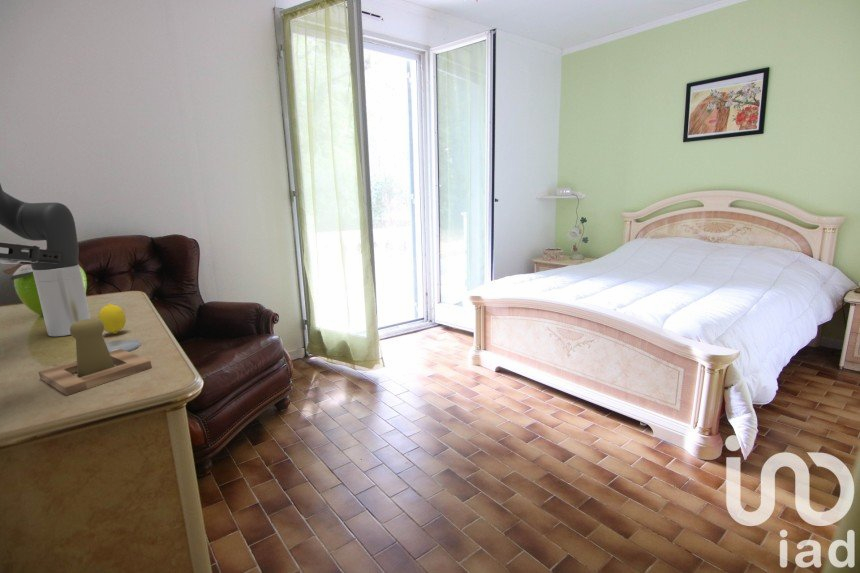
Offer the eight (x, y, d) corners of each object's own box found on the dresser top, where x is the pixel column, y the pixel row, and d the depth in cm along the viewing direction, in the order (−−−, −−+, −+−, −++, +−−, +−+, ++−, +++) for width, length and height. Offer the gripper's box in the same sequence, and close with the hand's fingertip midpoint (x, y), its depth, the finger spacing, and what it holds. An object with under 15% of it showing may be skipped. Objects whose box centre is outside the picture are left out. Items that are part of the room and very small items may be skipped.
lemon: (114, 338, 108) (108, 306, 106) (96, 337, 109) (89, 306, 107) (133, 330, 113) (127, 301, 112) (116, 330, 115) (109, 300, 113)
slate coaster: (80, 352, 99) (79, 349, 99) (129, 338, 107) (129, 336, 107) (98, 360, 93) (97, 357, 93) (148, 345, 101) (148, 343, 101)
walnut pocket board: (40, 378, 85) (38, 371, 84) (121, 355, 96) (120, 348, 96) (66, 395, 77) (65, 387, 77) (151, 367, 88) (150, 360, 88)
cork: (85, 382, 82) (73, 326, 80) (72, 376, 86) (59, 322, 83) (121, 370, 87) (110, 317, 85) (107, 365, 91) (96, 314, 88)
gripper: (-57, 217, 62) (73, 236, 77) (-100, 222, 68) (29, 239, 83) (-62, 269, 62) (69, 278, 77) (-105, 270, 68) (25, 279, 83)
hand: (48, 258), depth 80 cm, fingers open, 8 cm apart
